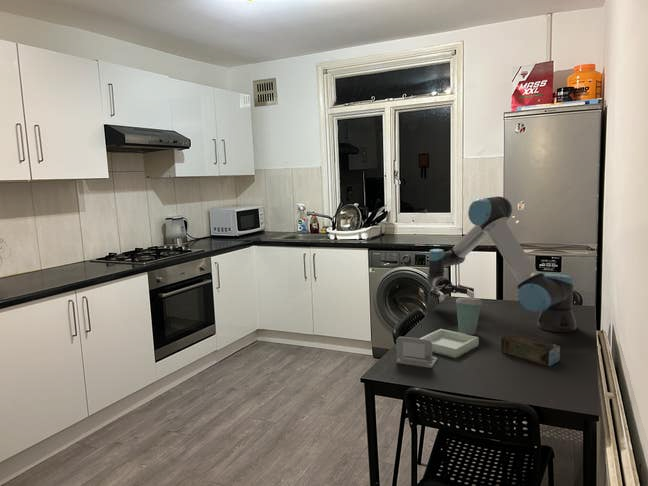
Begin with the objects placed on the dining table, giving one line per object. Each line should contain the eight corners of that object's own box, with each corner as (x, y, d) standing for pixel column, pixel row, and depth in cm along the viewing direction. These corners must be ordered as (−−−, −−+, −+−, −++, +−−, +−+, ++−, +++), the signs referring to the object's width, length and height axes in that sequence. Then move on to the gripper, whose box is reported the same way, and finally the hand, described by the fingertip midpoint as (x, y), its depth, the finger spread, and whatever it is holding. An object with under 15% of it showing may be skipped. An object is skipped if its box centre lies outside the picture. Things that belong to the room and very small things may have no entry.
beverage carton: (549, 367, 172) (549, 349, 171) (499, 352, 187) (499, 336, 186) (560, 361, 176) (561, 343, 175) (511, 347, 191) (511, 331, 191)
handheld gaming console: (438, 359, 182) (437, 333, 181) (431, 368, 174) (431, 341, 173) (403, 354, 188) (403, 329, 187) (396, 363, 180) (395, 337, 179)
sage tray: (478, 345, 194) (478, 337, 194) (455, 358, 182) (455, 349, 182) (440, 336, 206) (440, 328, 206) (417, 348, 194) (417, 339, 194)
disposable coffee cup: (449, 331, 209) (450, 296, 209) (464, 329, 216) (465, 295, 216) (470, 336, 201) (472, 300, 201) (485, 334, 208) (487, 298, 207)
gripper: (467, 291, 239) (485, 303, 218) (417, 294, 237) (430, 306, 216) (467, 276, 238) (485, 286, 217) (417, 278, 236) (430, 289, 215)
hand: (458, 296), depth 217 cm, fingers open, 13 cm apart
